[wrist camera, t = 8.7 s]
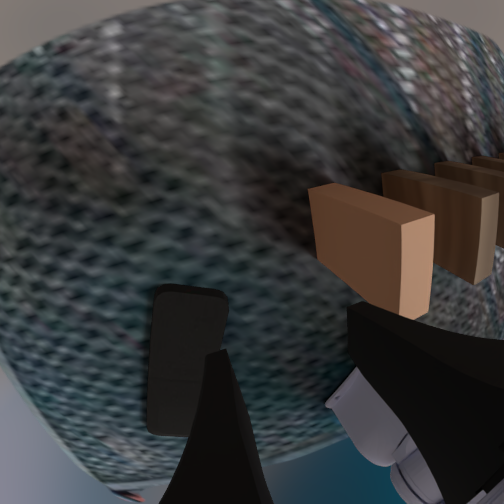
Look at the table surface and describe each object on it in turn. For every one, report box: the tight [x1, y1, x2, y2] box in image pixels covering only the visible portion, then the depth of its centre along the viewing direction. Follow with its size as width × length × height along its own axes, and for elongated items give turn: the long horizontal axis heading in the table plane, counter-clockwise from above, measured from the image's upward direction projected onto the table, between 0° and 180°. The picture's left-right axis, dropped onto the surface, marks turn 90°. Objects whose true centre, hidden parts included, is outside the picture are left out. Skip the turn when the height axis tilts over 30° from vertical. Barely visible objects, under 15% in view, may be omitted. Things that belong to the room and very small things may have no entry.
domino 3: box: [434, 161, 504, 248], centre depth 18 cm, size 2×5×9 cm, turn 13°
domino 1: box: [308, 183, 435, 320], centre depth 16 cm, size 2×5×9 cm, turn 13°
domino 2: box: [381, 169, 499, 285], centre depth 17 cm, size 2×5×9 cm, turn 13°
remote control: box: [147, 284, 229, 437], centre depth 21 cm, size 5×2×15 cm
